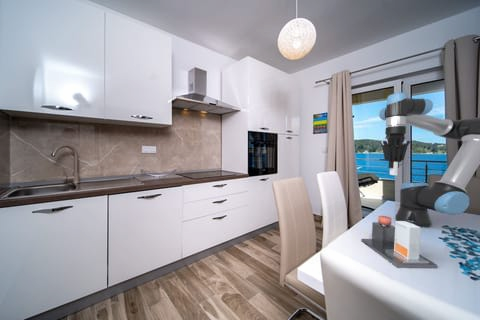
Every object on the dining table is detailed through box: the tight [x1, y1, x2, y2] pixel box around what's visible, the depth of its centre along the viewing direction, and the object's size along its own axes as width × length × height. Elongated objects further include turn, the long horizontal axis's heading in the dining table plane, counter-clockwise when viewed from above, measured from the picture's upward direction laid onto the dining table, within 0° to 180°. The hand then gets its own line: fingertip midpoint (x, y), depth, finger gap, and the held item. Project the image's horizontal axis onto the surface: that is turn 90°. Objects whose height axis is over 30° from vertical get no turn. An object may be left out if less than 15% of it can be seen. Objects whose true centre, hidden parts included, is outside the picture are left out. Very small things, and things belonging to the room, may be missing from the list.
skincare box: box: [394, 220, 422, 260], centre depth 68 cm, size 6×4×12 cm
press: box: [360, 221, 438, 269], centre depth 73 cm, size 14×19×9 cm
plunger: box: [377, 215, 392, 226], centre depth 79 cm, size 4×4×10 cm
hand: (393, 174), depth 90 cm, fingers closed
